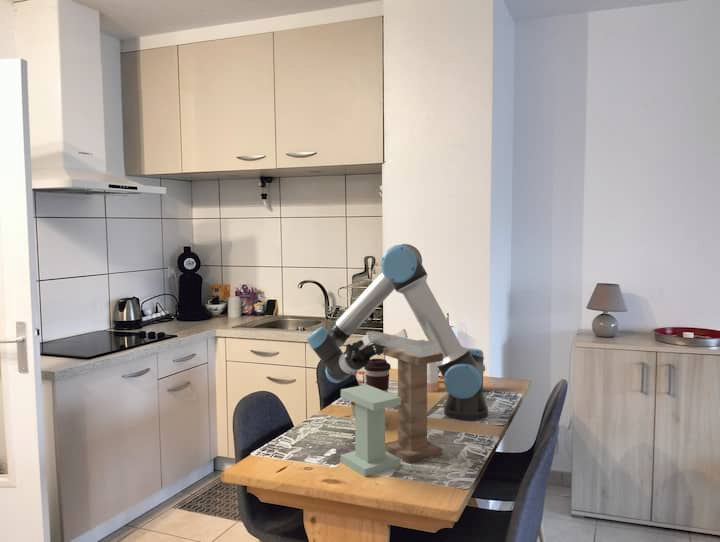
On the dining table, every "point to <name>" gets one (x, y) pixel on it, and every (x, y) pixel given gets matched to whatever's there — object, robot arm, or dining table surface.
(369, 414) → the low stand
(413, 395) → the tall stand
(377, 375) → the coffee cup
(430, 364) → the pepper shaker
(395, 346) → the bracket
